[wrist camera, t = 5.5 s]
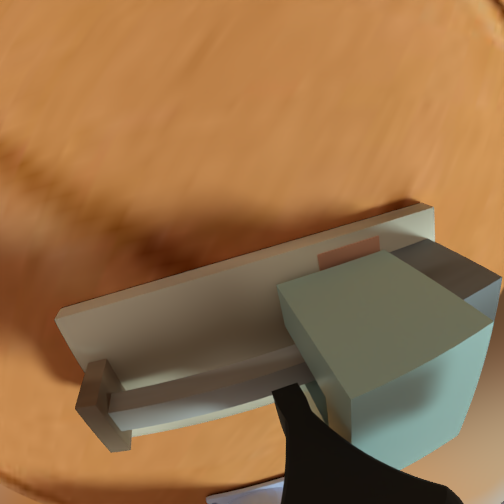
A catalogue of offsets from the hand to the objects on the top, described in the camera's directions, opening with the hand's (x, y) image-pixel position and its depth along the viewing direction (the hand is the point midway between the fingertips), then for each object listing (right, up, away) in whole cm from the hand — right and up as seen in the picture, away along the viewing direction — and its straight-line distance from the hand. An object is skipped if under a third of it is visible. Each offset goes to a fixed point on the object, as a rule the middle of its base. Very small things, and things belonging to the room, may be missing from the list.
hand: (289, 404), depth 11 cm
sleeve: (+3, +2, +4) cm, 5 cm away
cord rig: (0, +2, +5) cm, 5 cm away
